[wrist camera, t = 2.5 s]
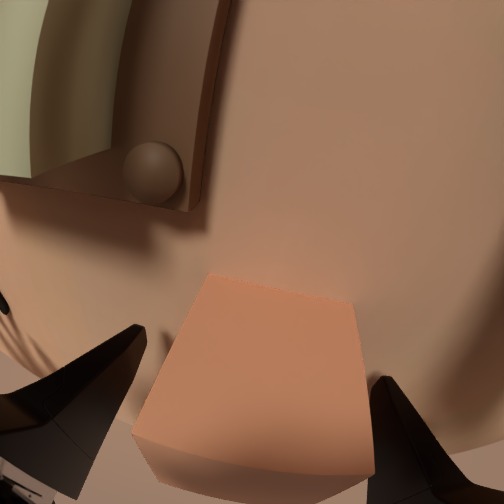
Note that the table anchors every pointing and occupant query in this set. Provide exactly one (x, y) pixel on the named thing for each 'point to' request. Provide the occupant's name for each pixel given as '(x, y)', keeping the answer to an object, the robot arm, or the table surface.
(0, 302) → the action figure
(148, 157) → the tower base
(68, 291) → the table surface
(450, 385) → the table surface
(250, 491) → the terracotta brick
